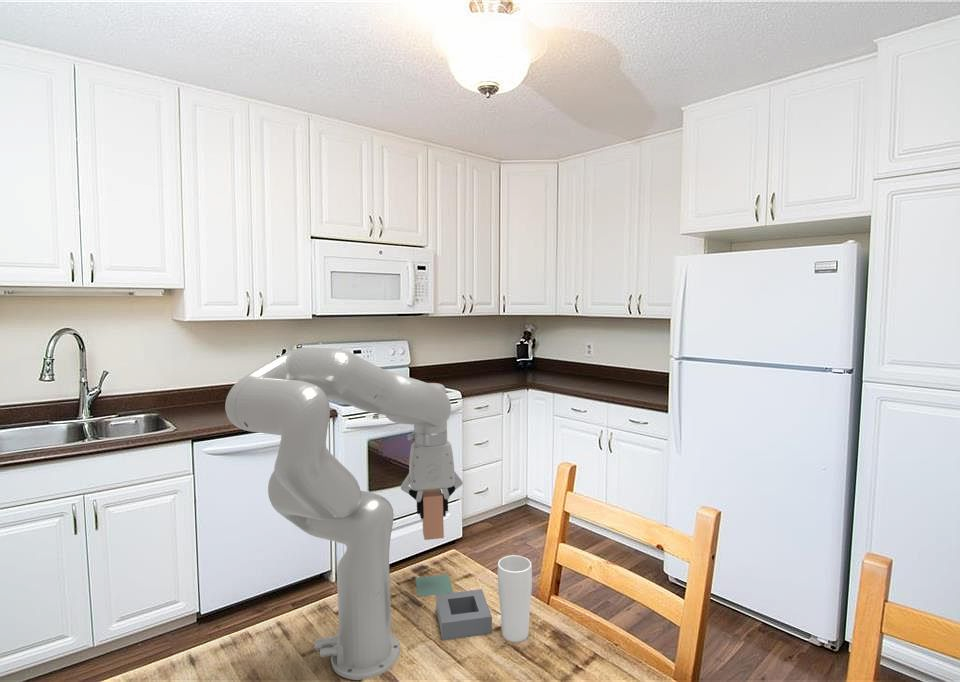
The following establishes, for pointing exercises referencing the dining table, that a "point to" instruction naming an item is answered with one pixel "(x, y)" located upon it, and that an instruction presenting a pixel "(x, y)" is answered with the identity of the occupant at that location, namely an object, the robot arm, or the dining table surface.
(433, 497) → the peg
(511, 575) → the drinking glass
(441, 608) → the pocket block
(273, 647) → the dining table surface
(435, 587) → the mat
